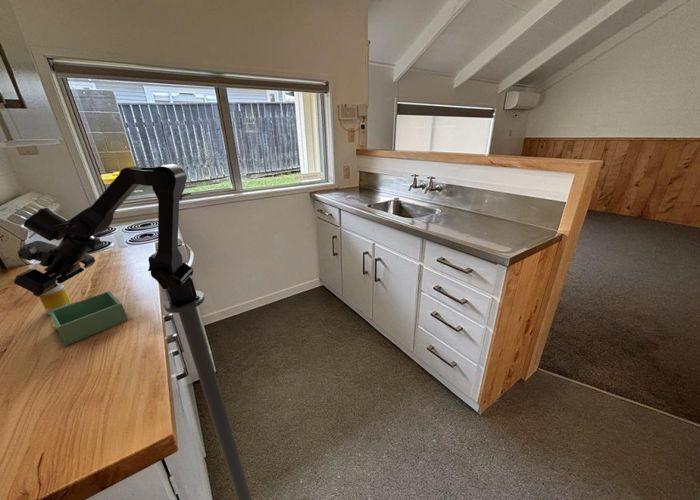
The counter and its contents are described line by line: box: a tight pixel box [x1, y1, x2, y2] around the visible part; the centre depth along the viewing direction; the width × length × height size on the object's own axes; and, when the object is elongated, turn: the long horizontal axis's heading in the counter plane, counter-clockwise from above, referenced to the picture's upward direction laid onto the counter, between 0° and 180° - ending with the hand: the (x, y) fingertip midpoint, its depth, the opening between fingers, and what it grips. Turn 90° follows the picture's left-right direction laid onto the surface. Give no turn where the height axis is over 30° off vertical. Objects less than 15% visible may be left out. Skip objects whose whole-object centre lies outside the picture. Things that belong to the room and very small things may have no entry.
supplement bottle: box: [37, 281, 73, 315], centre depth 79 cm, size 5×5×10 cm
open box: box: [49, 290, 129, 346], centre depth 73 cm, size 12×11×5 cm
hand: (45, 290), depth 79 cm, fingers closed on supplement bottle, 5 cm apart
